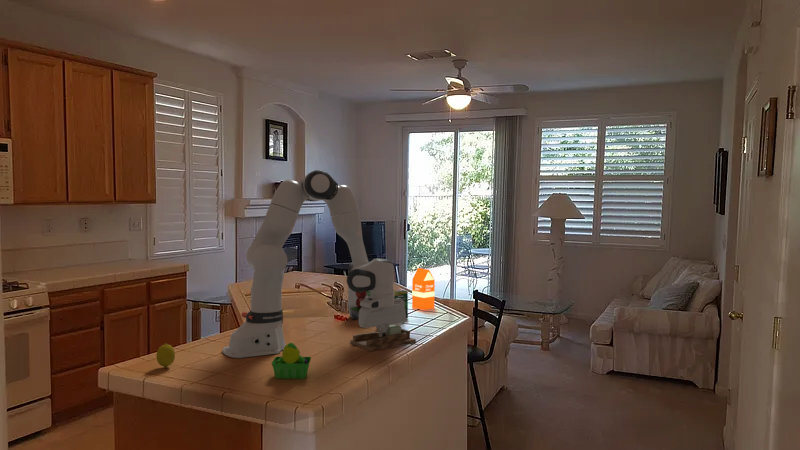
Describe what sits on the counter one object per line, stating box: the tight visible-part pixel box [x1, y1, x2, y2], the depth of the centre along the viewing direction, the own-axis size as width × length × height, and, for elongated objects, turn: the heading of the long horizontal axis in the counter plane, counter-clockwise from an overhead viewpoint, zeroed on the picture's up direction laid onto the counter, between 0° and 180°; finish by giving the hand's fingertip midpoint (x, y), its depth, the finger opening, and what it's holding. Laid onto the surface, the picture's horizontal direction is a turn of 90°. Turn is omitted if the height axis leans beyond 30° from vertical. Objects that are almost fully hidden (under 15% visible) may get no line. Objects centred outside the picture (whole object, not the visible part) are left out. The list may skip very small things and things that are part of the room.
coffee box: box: [394, 289, 409, 320], centre depth 252 cm, size 8×3×13 cm, turn 118°
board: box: [350, 328, 417, 352], centre depth 210 cm, size 21×14×4 cm, turn 127°
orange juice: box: [411, 267, 436, 310], centre depth 280 cm, size 8×9×20 cm
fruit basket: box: [271, 342, 312, 380], centre depth 169 cm, size 11×9×11 cm
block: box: [383, 325, 402, 337], centre depth 213 cm, size 5×5×4 cm
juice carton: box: [347, 262, 371, 320], centre depth 254 cm, size 9×10×27 cm
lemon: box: [155, 342, 176, 369], centre depth 177 cm, size 6×6×8 cm
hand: (382, 336), depth 210 cm, fingers closed
